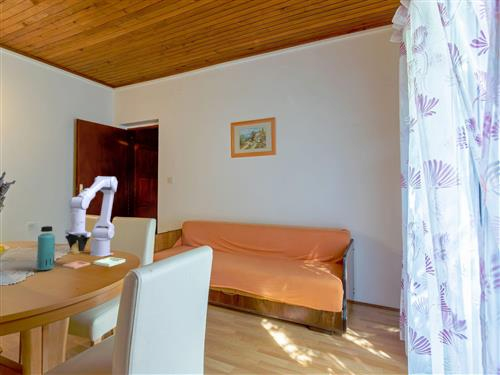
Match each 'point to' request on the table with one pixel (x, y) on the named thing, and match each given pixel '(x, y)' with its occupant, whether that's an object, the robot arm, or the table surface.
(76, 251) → the ball
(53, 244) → the beverage bottle
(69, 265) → the dish
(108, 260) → the tray
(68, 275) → the table surface
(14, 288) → the table surface
